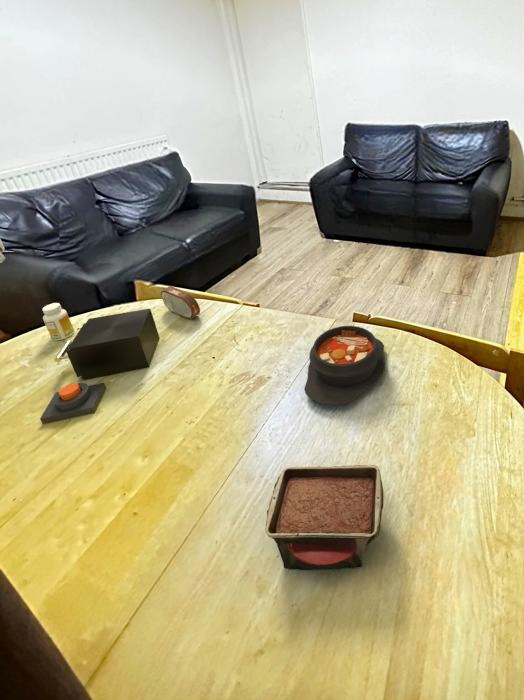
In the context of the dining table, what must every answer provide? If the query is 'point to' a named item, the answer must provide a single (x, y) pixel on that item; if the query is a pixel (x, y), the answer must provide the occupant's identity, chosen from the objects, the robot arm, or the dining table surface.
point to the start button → (69, 392)
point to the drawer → (68, 354)
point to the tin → (180, 302)
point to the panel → (74, 404)
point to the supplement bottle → (57, 322)
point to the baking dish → (325, 515)
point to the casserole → (343, 365)
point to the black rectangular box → (115, 344)
